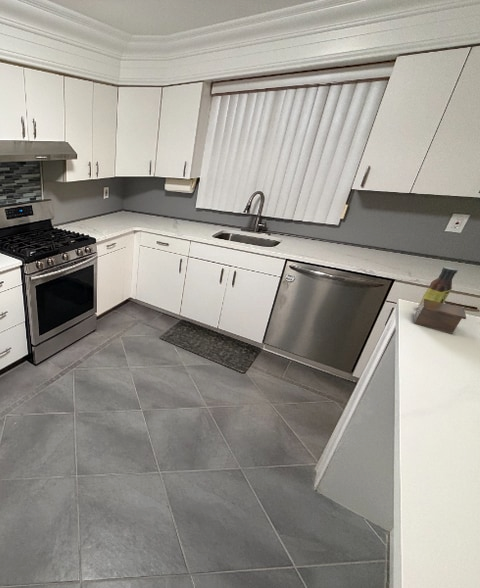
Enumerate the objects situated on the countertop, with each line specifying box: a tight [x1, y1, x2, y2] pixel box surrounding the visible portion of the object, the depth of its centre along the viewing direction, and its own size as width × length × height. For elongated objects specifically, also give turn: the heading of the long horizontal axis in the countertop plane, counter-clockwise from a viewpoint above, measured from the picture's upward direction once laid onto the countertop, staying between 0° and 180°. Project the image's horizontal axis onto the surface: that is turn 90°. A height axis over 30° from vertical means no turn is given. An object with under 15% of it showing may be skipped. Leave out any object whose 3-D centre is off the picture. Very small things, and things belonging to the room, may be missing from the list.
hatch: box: [423, 299, 467, 320], centre depth 119 cm, size 11×10×1 cm
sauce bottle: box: [416, 266, 459, 311], centre depth 127 cm, size 7×6×20 cm
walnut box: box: [413, 301, 463, 335], centre depth 121 cm, size 10×10×7 cm
